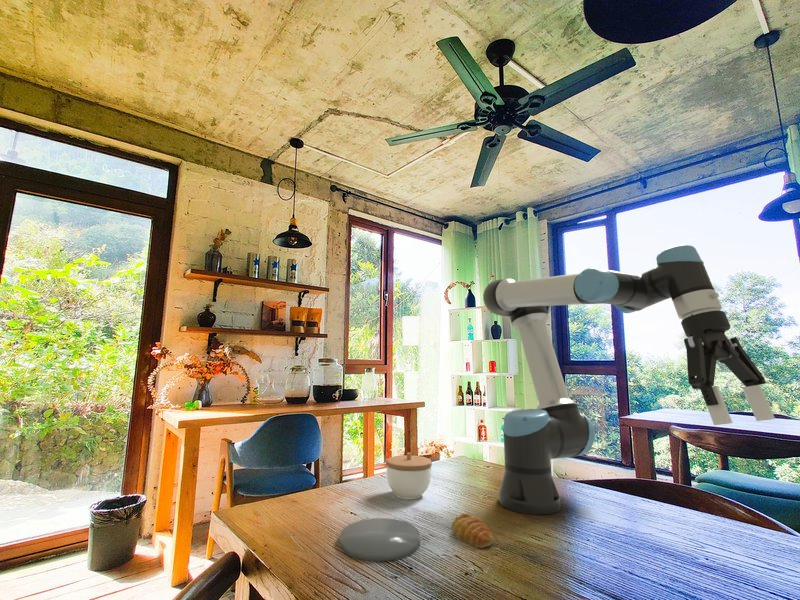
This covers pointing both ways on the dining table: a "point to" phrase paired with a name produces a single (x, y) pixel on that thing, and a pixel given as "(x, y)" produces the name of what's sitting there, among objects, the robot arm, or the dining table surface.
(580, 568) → the dining table surface
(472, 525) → the pastry
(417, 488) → the lidded bowl
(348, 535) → the grey rounded puck
